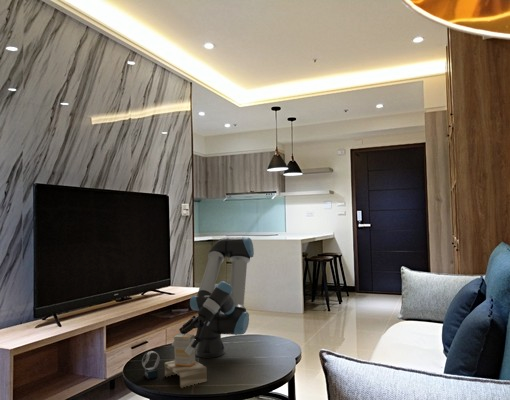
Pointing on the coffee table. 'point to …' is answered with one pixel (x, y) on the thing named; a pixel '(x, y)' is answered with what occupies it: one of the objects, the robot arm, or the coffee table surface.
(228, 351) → the coffee table surface
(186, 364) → the supplement box
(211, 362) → the coffee table surface
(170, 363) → the grooved beige block
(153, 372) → the watch
